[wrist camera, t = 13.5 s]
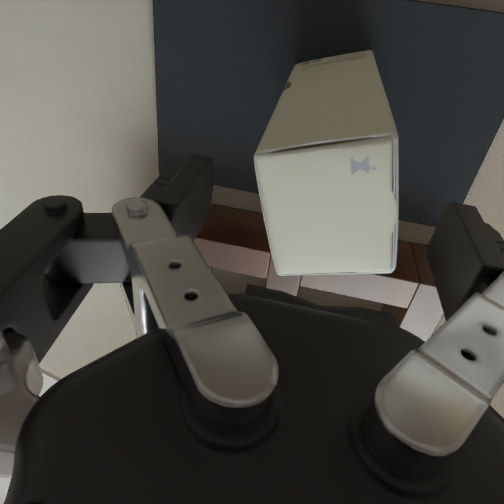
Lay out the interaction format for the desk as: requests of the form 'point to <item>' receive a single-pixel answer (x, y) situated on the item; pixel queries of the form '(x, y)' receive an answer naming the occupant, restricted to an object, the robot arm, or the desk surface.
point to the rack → (359, 285)
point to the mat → (322, 46)
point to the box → (331, 171)
